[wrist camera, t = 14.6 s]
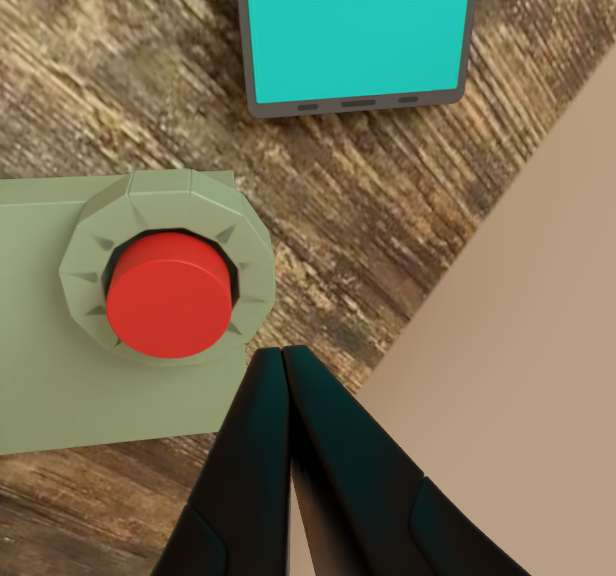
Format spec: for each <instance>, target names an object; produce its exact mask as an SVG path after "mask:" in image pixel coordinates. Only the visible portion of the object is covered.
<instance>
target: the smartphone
mask: <svg viewBox="0 0 616 576" xmlns="http://www.w3.org/2000/svg"><path fill="white" fill-rule="evenodd" d="M475 4H476V0H237V6H238V17H239V28H240V39H241V49H242V60H243V71H244V82H245V93H246V102H247V106H248V110H249V112H250V114H251V115H252V116H253V117H255V118H260V119H262V118H274V117H287V116H300V115H313V114H326V113H338V112H351V111H364V110H377V109H389V108H402V107H415V106H428V105H441V104H453V103H456V102H458V101H459V100H460V99H461V98H462V96H463V94H464V90H465V82H466V74H467V67H468V59H469V51H470V43H471V35H472V27H473V19H474V12H475Z"/></svg>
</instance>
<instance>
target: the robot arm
mask: <svg viewBox="0 0 616 576" xmlns="http://www.w3.org/2000/svg"><path fill="white" fill-rule="evenodd" d="M291 473H292V478H293V483H294V488H295V492H296V496H297V500H298V505H299V509H300V513H301V517H302V521H303V525H304V529H305V533H306V538H307V541H308V546H309V550H310V554H311V558H312V562H313V566H314V570H315V575H316V576H531V575H530V574H529V573H528V572H527V571H526V570H524V569H523V568H522V567H521V566H520V565H519V564H517V563H516V562H515V561H514V560H513V559H512V558H511V557H510V556H508V555H507V554H506V553H505V552H504V551H503V550H502V549H500V548H499V547H498V546H497V545H496V544H495V543H494V542H493V541H492V540H490V539H489V538H488V537H487V536H486V535H485V534H484V533H483V532H482V531H481V530H480V529H478V527H476V526H475V525H474V524H473V523H472V522H471V521H470V520H469V519H468V518H467V517H466V516H465V515H464V514H463V513H462V512H461V511H460V510H459V509H458V508H457V507H456V506H455V505H454V504H453V503H452V502H451V501H450V500H449V499H448V498H447V497H446V496H445V495H444V494H443V493H442V491H441V490H440V489H439V488H438V487H437V486H436V485H435V484H434V483H433V482H432V481H431V480H430V478H429V477H427V476H426V477H424V472H423V471H422V470H421V469H420V468H419V467H418V466H417V465H416V464H415V463H414V461H412V459H411V458H410V457H409V456H408V455H407V454H406V453H405V452H404V451H403V450H402V449H401V447H400V446H399V445H398V444H397V443H396V442H395V441H394V440H393V439H392V438H391V437H390V436H389V434H388V433H387V432H386V431H385V430H384V429H383V428H382V427H381V426H380V425H379V424H378V423H377V422H376V420H375V419H374V418H373V417H372V416H371V415H370V414H369V413H368V412H367V411H366V410H365V409H364V407H363V406H362V405H361V404H360V403H359V402H358V401H357V400H356V399H355V398H354V397H353V396H352V395H351V393H350V392H349V391H348V390H347V389H346V388H345V387H344V386H343V385H342V384H341V383H340V382H339V381H338V379H337V378H336V377H335V376H334V375H333V374H332V373H331V372H330V371H329V370H328V369H327V368H326V367H325V365H324V364H323V363H322V362H321V361H320V360H319V359H318V358H317V357H316V356H315V355H314V354H313V352H312V351H311V350H310V349H309V348H308V347H307V346H305V345H291V346H284V347H283V348H282V349H280V348H279V347H267V348H258V349H257V350H256V351H255V353H254V355H253V357H252V359H251V361H250V364H249V366H248V368H247V370H246V372H245V375H244V377H243V379H242V381H241V383H240V386H239V388H238V390H237V392H236V394H235V397H234V399H233V401H232V403H231V405H230V408H229V410H228V412H227V414H226V416H225V419H224V421H223V423H222V425H221V427H220V430H219V432H218V434H217V436H216V438H215V441H214V443H213V445H212V447H211V449H210V452H209V454H208V456H207V458H206V460H205V463H204V465H203V467H202V469H201V471H200V474H199V476H198V478H197V480H196V482H195V485H194V487H193V489H192V491H191V493H190V496H189V498H188V500H187V505H185V506H184V508H183V510H182V512H181V515H180V517H179V519H178V521H177V523H176V526H175V528H174V530H173V532H172V534H171V536H170V538H169V540H168V542H167V544H166V546H165V548H164V550H163V552H162V554H161V556H160V558H159V560H158V562H157V564H156V565H155V567H154V569H153V571H152V572H151V574H150V576H289V573H290V572H289V570H290V508H291V506H290V505H291V504H290V503H291Z"/></svg>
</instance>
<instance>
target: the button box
mask: <svg viewBox="0 0 616 576" xmlns="http://www.w3.org/2000/svg"><path fill="white" fill-rule="evenodd" d="M162 232H178V233H184V234H189V235H192V236H194V237H197V238H199V239H201V240H203V241H205V242H206V243H208V244H209V245H211V246H212V247H213V248H214V249H215V250H216V251H217V252H218V253H219V254H220V255H221V257H222V258H223V260H224V261H225V263H226V266H227V268H228V271H229V277H230V289H231V303H232V314H231V320H230V323H229V325H228V327H227V329H226V331H225V333H224V334H223V335H222V337H221V338H220V339H219V340H218V341H217V342H216V343H215V344H214V345H212V346H211V347H209V348H208V349H206V350H205V351H202V352H200V353H198V354H195V355H192V356H189V357H184V358H177V359H165V358H157V357H152V356H148V355H145V354H142V353H140V352H138V351H136V350H134V349H132V348H130V347H129V346H127V345H126V344H125V343H124V342H122V341H121V340H120V339H119V338H118V336H117V335H116V334H115V333H114V331H113V330H112V328H111V326H110V324H109V321H108V318H107V314H106V300H107V295H108V291H109V288H110V284H111V280H112V277H113V273H114V269H115V266H116V264H117V261H118V259H119V258H120V256H121V254H122V253H123V252H124V251H125V250H126V249H127V248H128V247H129V246H130V245H131V244H133V243H134V242H135V241H137V240H139V239H141V238H143V237H146V236H148V235H151V234H156V233H162ZM275 300H276V294H275V257H274V253H273V248H272V243H271V239H270V235H269V231H268V229H267V228H266V227H265V225H264V224H263V222H262V221H261V219H260V218H259V217H258V215H257V214H256V212H255V211H254V209H253V208H252V206H251V205H250V204H249V202H248V201H247V199H246V198H245V196H244V195H243V194H242V193H240V192H239V191H237V190H236V189H235V181H234V172H233V171H232V170H226V171H201V172H198V171H195V170H191V169H170V170H145V171H135V172H130V173H129V174H127V175H102V176H77V177H52V178H27V179H2V180H0V455H7V454H17V453H26V452H35V451H45V450H54V449H63V448H72V447H82V446H91V445H100V444H109V443H119V442H128V441H137V440H146V439H156V438H165V437H174V436H183V435H193V434H202V433H211V432H219V430H220V427H221V425H222V423H223V421H224V419H225V416H226V414H227V412H228V410H229V408H230V405H231V403H232V401H233V399H234V397H235V394H236V392H237V390H238V388H239V386H240V383H241V381H242V379H243V377H244V375H245V372H246V370H247V368H246V351H245V343H247V342H249V341H250V340H251V339H252V338H253V337H254V335H255V334H256V332H257V330H258V329H259V327H260V326H261V324H262V323H263V321H264V320H265V318H266V317H267V315H268V313H269V312H270V310H271V309H272V307H273V306H274V304H275Z"/></svg>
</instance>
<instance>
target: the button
mask: <svg viewBox="0 0 616 576" xmlns="http://www.w3.org/2000/svg"><path fill="white" fill-rule="evenodd" d="M106 314H107V318H108V321H109V324H110V326H111V328H112V330H113V331H114V333H115V334H116V335H117V336H118V338H119V339H120V340H121V341H122V342H124V343H125V344H126V345H127V346H129V347H130V348H132V349H134V350H136V351H138V352H140V353H142V354H145V355H148V356H152V357H157V358H165V359H177V358H184V357H189V356H192V355H195V354H198V353H200V352H202V351H205V350H206V349H208V348H209V347H211V346H212V345H214V344H215V343H216V342H217V341H218V340H219V339H220V338H221V337H222V335H223V334H224V333H225V331H226V329H227V327H228V325H229V323H230V320H231V314H232V303H231V289H230V277H229V271H228V268H227V266H226V263H225V261H224V260H223V258H222V257H221V255H220V254H219V253H218V252H217V251H216V250H215V249H214V248H213V247H212V246H211V245H209V244H208V243H206V242H205V241H203V240H201V239H199V238H197V237H194V236H192V235H189V234H184V233H178V232H162V233H156V234H151V235H148V236H146V237H143V238H141V239H139V240H137V241H135V242H134V243H133V244H131V245H130V246H129V247H128V248H127V249H126V250H125V251H124V252H123V253H122V254H121V256H120V258H119V259H118V261H117V264H116V266H115V269H114V273H113V277H112V280H111V284H110V288H109V291H108V295H107V300H106Z"/></svg>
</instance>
